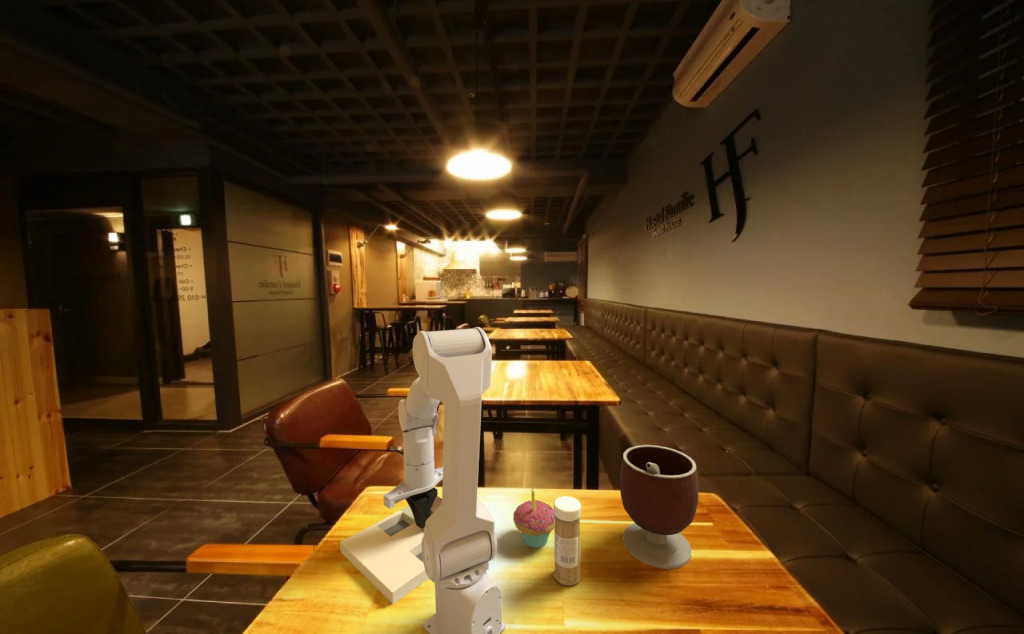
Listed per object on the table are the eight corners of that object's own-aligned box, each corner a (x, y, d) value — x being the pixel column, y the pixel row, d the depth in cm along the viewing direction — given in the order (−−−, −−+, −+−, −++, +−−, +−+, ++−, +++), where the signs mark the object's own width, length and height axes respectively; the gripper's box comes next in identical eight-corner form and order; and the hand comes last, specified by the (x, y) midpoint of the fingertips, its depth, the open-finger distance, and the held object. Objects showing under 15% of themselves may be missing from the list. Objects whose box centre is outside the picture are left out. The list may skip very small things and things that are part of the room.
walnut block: (449, 520, 77) (448, 502, 77) (433, 530, 74) (432, 511, 74) (436, 513, 80) (436, 495, 79) (421, 522, 76) (420, 503, 76)
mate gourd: (629, 514, 82) (631, 425, 80) (700, 537, 74) (704, 439, 73) (606, 558, 69) (608, 453, 67) (689, 591, 61) (693, 474, 60)
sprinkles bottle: (582, 571, 66) (583, 498, 65) (576, 590, 62) (577, 513, 60) (557, 563, 68) (558, 492, 66) (550, 582, 64) (550, 506, 62)
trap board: (482, 538, 74) (482, 521, 74) (393, 604, 59) (392, 583, 59) (427, 504, 86) (426, 489, 86) (340, 552, 71) (339, 534, 71)
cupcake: (554, 557, 69) (554, 495, 68) (509, 551, 71) (508, 491, 70) (557, 528, 78) (558, 472, 76) (517, 523, 79) (517, 468, 78)
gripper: (436, 441, 81) (437, 501, 82) (373, 466, 70) (376, 535, 71) (458, 450, 76) (459, 514, 78) (394, 479, 65) (397, 552, 67)
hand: (421, 525), depth 74 cm, fingers closed
